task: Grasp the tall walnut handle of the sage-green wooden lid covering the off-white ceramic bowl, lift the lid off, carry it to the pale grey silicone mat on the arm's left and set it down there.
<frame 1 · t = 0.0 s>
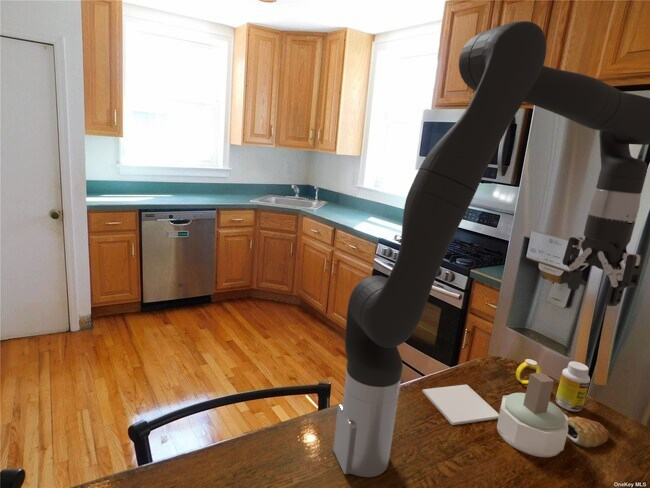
hand: (591, 296, 84), 29 cm above the table, fingers open, 8 cm apart
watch: (526, 383, 107), on the table
mat: (459, 404, 95), on the table
pastry: (581, 437, 88), on the table
lid: (533, 412, 85), point 5 cm above the table, touching bowl
bowl: (528, 435, 87), on the table
supplement bottle: (568, 406, 99), on the table
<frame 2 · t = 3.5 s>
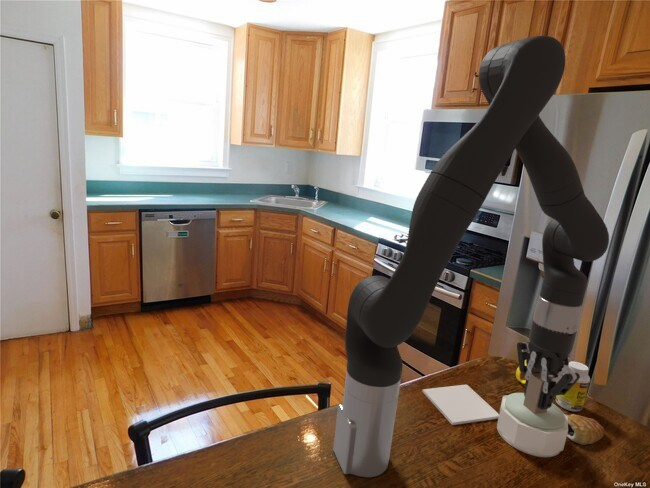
hand: (536, 402, 85), 8 cm above the table, fingers closed on lid, 3 cm apart
lid: (533, 412, 85), point 5 cm above the table, touching bowl, gripper
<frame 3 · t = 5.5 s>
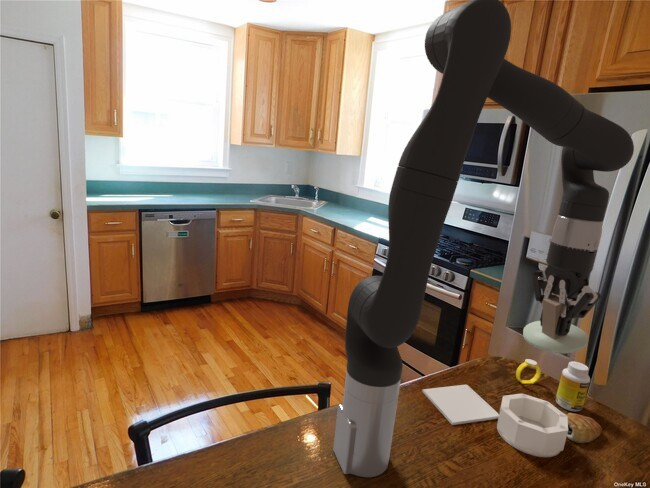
hand: (553, 330, 81), 23 cm above the table, fingers closed on lid, 3 cm apart
lid: (554, 337, 82), point 22 cm above the table, tilted 13°, touching gripper
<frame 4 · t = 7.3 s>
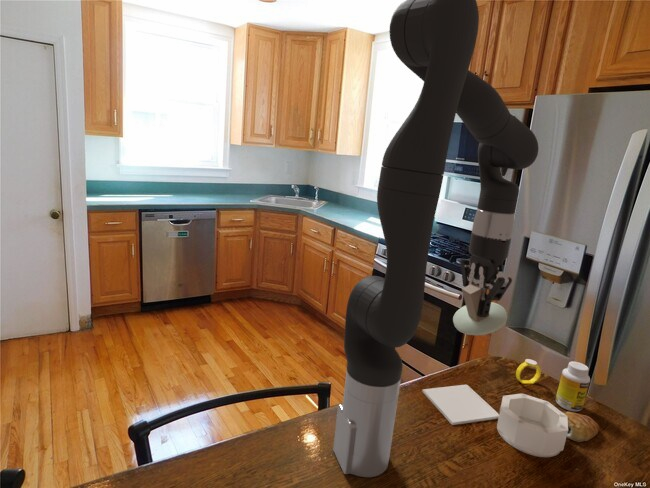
hand: (476, 312, 90), 22 cm above the table, fingers closed on lid, 3 cm apart
lid: (479, 319, 91), point 20 cm above the table, tilted 25°, touching gripper
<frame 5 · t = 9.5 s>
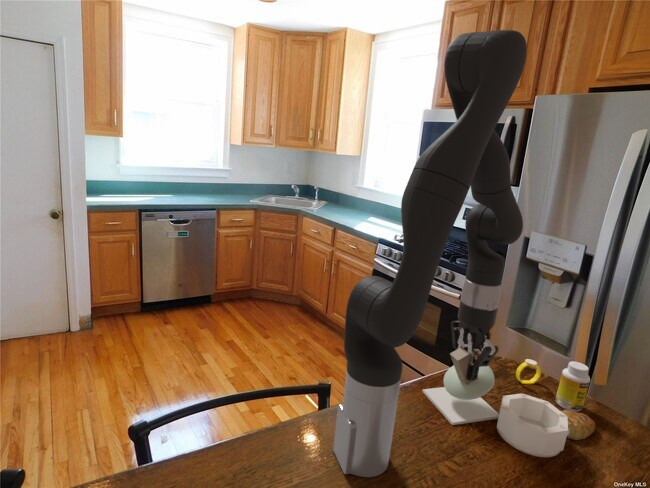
hand: (466, 374, 93), 7 cm above the table, fingers closed on lid, 3 cm apart
lid: (468, 380, 94), point 6 cm above the table, tilted 29°, touching gripper
when the fingers open (5 cm above the table, at t = 11.0 s): lid drops 2 cm, resting on mat.
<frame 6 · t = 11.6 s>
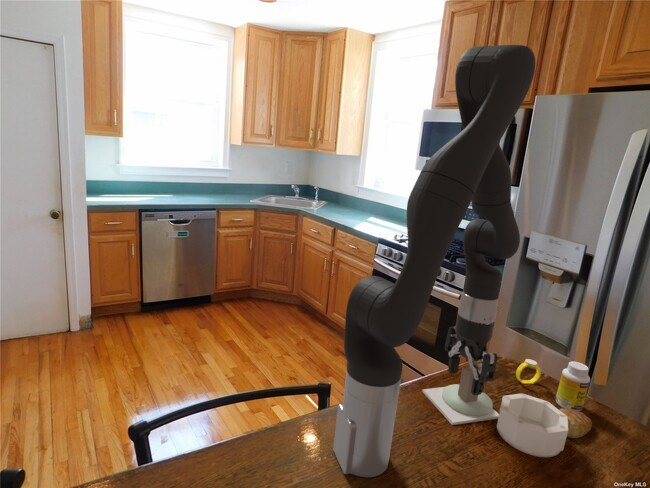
hand: (463, 382, 94), 5 cm above the table, fingers open, 8 cm apart
lid: (466, 401, 96), point 1 cm above the table, touching mat
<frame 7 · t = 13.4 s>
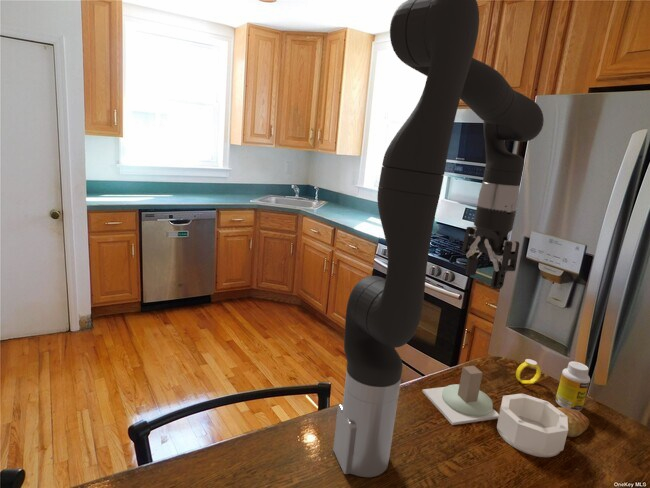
hand: (482, 281, 91), 28 cm above the table, fingers open, 8 cm apart
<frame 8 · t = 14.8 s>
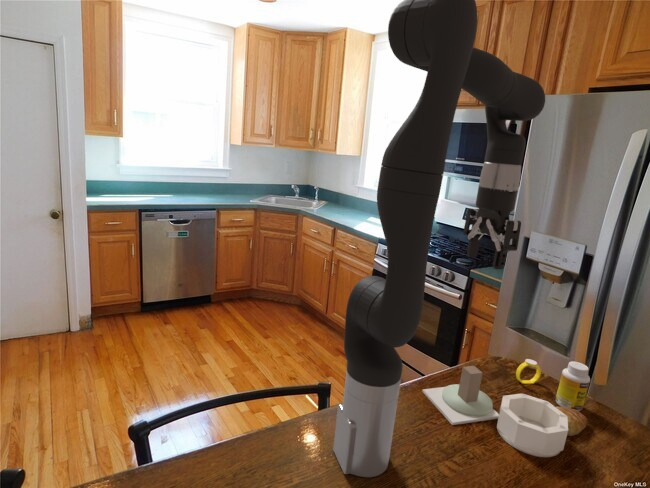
hand: (484, 262, 91), 32 cm above the table, fingers open, 8 cm apart
at the end: lid inside the target area on the mat (1.7 cm from its centre), point 0.6 cm above the mat's base; lid touching mat; lid tilted 0° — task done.
